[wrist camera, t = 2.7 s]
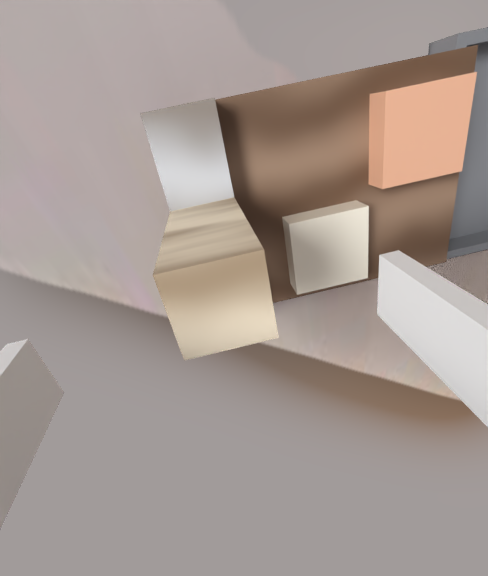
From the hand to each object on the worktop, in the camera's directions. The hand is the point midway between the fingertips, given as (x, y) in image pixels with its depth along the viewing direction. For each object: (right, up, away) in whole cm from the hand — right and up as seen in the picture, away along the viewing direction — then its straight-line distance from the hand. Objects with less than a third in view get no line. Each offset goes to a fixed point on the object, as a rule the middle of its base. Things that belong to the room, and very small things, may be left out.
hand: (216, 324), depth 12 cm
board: (+6, +10, +17) cm, 20 cm away
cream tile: (+7, +5, +14) cm, 16 cm away
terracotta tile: (+13, +13, +11) cm, 21 cm away
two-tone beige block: (-2, +6, +12) cm, 13 cm away
